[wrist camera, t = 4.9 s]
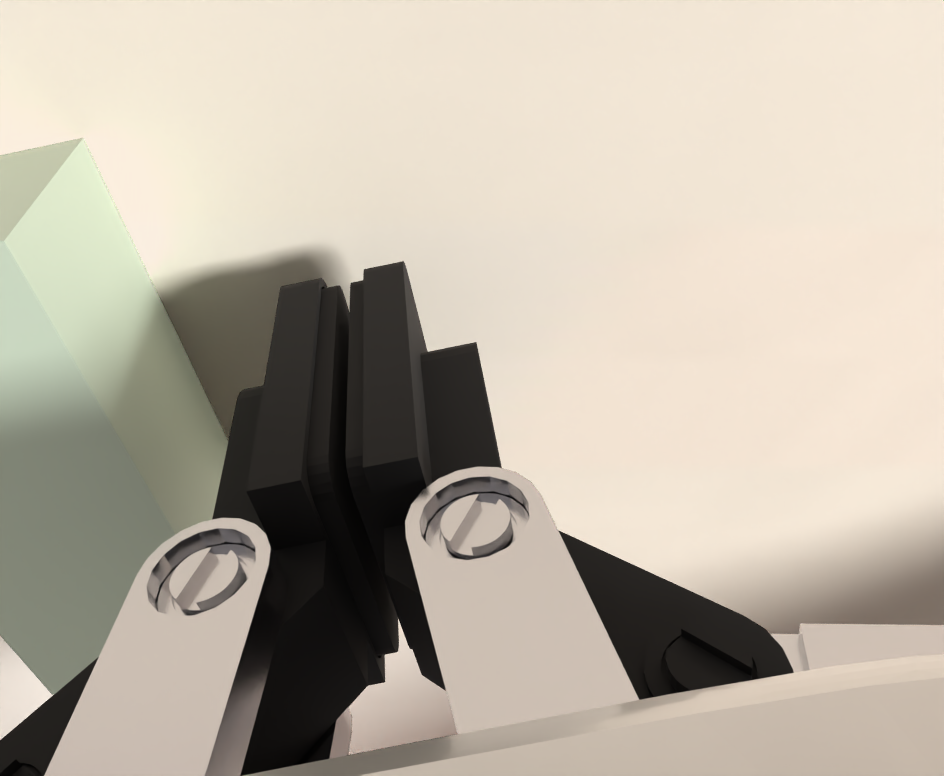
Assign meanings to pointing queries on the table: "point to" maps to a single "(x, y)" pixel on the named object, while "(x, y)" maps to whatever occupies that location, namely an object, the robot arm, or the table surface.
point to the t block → (86, 414)
